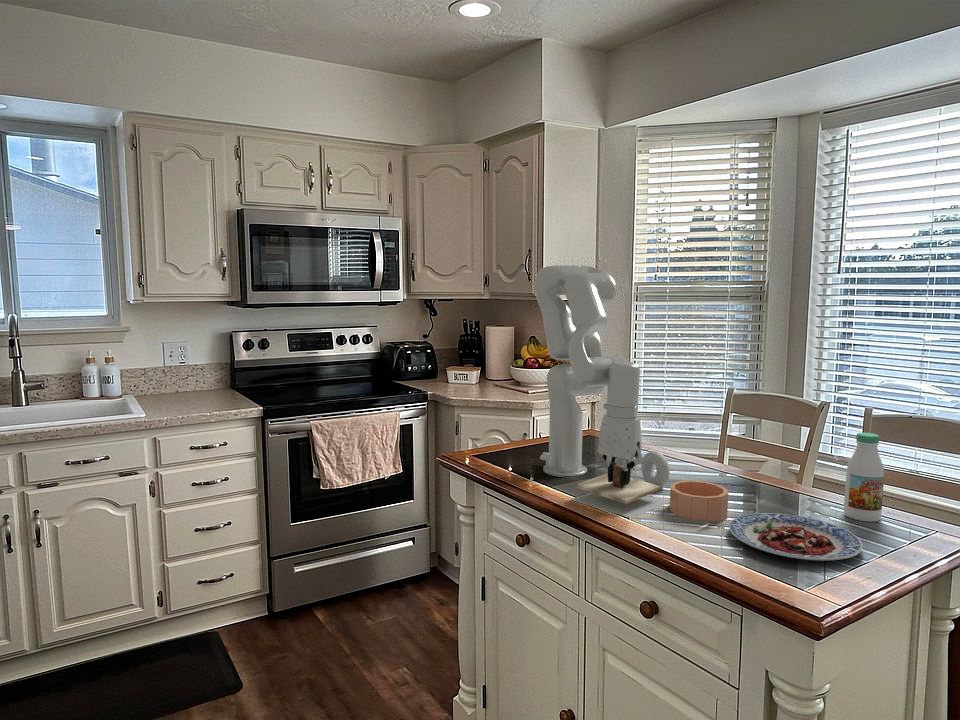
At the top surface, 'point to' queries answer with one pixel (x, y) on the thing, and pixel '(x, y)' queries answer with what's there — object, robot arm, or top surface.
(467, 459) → the top surface
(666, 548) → the top surface
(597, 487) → the lid
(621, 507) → the mat
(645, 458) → the donut
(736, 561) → the top surface
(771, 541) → the ceramic plate
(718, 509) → the bowl
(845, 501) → the milk bottle
